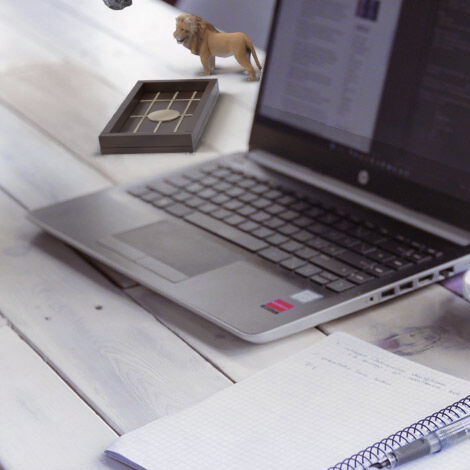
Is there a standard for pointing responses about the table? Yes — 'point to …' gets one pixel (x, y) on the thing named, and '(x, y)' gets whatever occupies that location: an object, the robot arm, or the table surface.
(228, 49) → the lion figurine
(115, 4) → the stone
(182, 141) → the board
